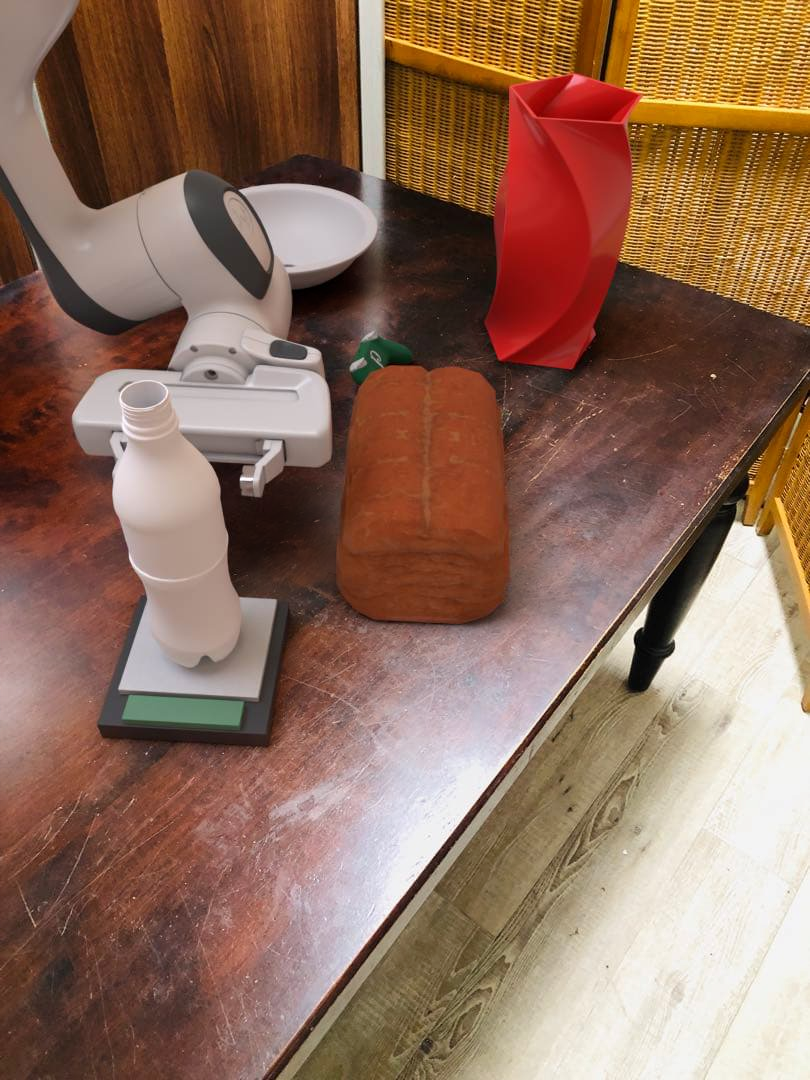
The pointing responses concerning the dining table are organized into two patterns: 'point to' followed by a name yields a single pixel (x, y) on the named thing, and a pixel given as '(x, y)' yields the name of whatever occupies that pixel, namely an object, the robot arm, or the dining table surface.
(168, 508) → the water bottle
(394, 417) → the bread
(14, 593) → the dining table surface
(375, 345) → the gaming controller
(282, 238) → the soup bowl
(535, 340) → the vase
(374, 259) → the dining table surface
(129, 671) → the kitchen scale
